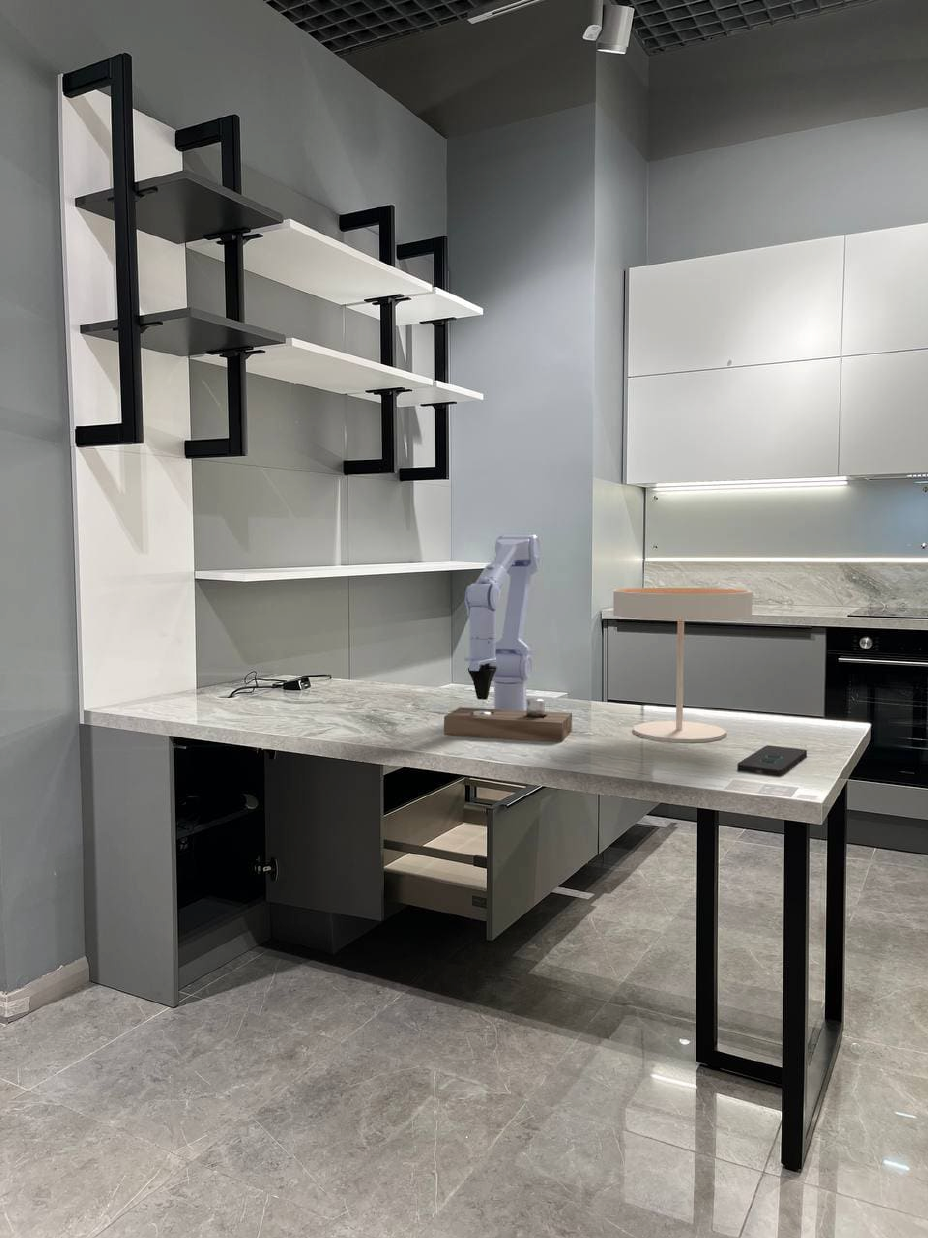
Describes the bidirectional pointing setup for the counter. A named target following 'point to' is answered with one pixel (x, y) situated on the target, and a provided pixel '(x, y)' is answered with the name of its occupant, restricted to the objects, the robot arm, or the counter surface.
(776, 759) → the smart home device
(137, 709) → the counter surface
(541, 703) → the peg
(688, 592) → the desk lamp
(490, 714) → the peg
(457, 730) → the wooden peg board
